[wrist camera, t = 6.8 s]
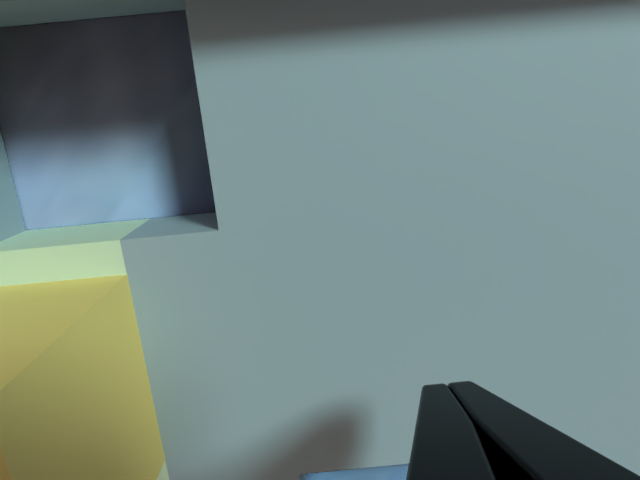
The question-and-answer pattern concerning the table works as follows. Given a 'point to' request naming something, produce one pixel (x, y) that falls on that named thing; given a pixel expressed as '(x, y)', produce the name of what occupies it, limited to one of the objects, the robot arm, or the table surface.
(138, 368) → the block
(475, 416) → the robot arm
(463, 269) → the tray
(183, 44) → the table surface
